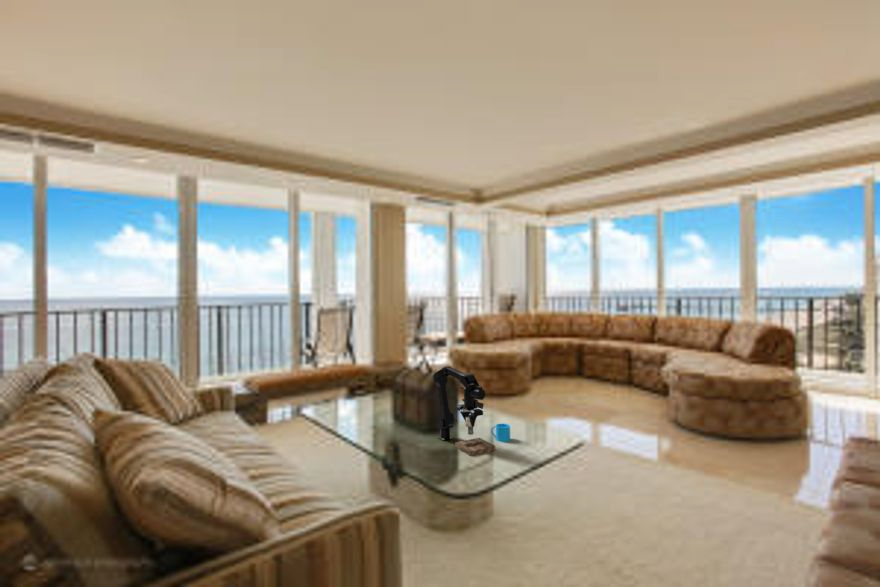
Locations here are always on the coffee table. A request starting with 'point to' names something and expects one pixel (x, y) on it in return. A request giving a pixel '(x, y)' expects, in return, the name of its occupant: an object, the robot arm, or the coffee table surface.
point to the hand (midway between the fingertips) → (470, 425)
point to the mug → (502, 432)
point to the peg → (469, 426)
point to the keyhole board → (475, 446)
